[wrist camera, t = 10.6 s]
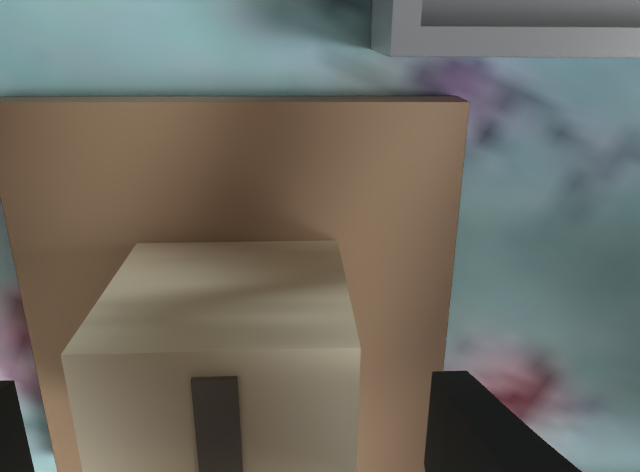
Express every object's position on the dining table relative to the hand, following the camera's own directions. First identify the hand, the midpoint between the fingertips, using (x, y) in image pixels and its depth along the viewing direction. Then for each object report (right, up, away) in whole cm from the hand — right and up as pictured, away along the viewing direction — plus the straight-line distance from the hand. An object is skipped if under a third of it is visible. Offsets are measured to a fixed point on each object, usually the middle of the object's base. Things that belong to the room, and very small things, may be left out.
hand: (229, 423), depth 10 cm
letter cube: (0, +1, +4) cm, 4 cm away
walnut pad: (0, +2, +5) cm, 5 cm away
